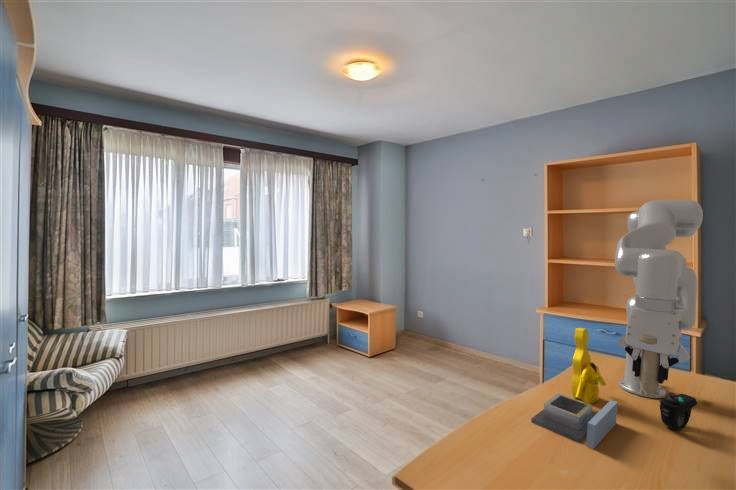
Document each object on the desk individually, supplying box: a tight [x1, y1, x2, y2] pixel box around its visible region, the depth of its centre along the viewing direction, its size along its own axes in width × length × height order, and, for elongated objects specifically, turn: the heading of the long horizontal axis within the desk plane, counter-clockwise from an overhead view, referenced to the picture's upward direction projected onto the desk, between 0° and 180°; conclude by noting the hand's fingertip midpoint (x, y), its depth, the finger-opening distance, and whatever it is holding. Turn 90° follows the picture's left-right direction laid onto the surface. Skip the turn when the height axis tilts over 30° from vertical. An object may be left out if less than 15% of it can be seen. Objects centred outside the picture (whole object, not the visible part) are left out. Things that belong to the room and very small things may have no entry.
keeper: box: [530, 393, 598, 443], centre depth 100 cm, size 18×12×4 cm, turn 131°
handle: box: [639, 335, 660, 399], centre depth 86 cm, size 5×6×15 cm
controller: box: [659, 392, 698, 431], centre depth 98 cm, size 4×12×10 cm, turn 115°
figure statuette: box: [571, 327, 607, 405], centre depth 113 cm, size 18×8×22 cm, turn 123°
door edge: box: [585, 399, 618, 450], centre depth 94 cm, size 18×2×6 cm, turn 131°
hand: (649, 377), depth 87 cm, fingers closed on handle, 4 cm apart
